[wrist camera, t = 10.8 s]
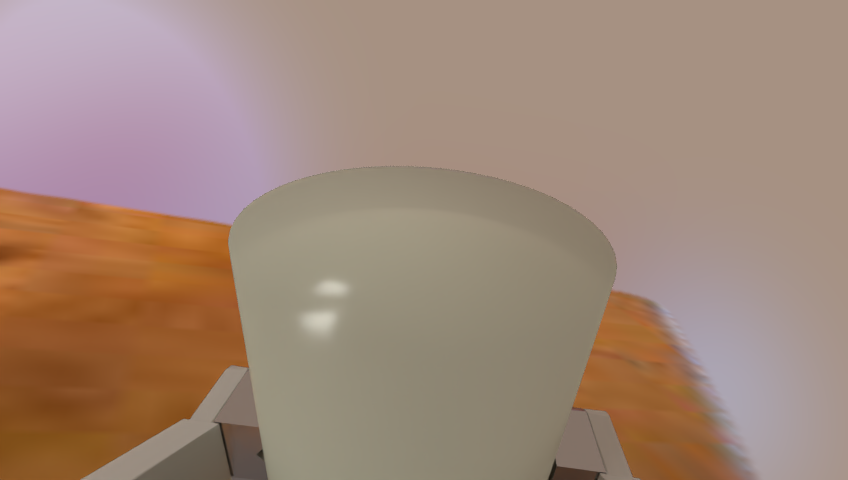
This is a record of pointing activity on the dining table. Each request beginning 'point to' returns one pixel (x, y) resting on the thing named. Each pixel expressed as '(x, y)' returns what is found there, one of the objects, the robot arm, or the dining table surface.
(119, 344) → the dining table surface
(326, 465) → the canister
